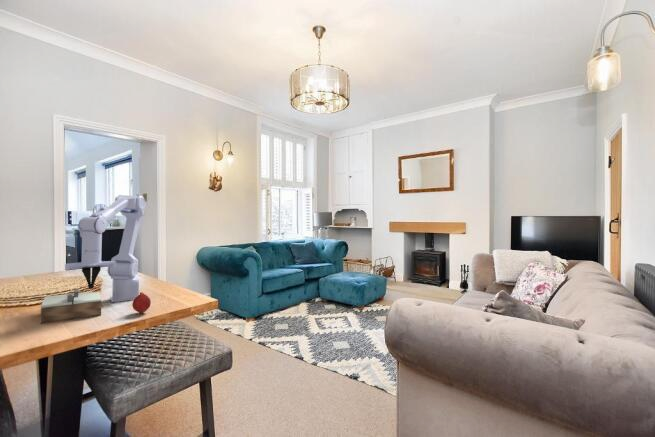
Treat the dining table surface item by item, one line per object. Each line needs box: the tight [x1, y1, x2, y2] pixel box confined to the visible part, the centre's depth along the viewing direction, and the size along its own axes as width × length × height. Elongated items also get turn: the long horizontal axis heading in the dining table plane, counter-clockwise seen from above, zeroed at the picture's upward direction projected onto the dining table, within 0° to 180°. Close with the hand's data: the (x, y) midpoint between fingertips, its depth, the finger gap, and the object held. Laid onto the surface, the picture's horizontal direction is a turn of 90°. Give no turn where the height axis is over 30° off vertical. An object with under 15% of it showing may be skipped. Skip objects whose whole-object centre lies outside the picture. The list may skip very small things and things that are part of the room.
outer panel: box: [40, 292, 74, 309], centre depth 111 cm, size 8×13×3 cm, turn 37°
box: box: [40, 295, 102, 324], centre depth 113 cm, size 16×13×5 cm
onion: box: [131, 291, 152, 315], centre depth 117 cm, size 6×6×8 cm
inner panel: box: [73, 288, 102, 304], centre depth 116 cm, size 8×13×3 cm, turn 37°
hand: (90, 288), depth 114 cm, fingers closed
